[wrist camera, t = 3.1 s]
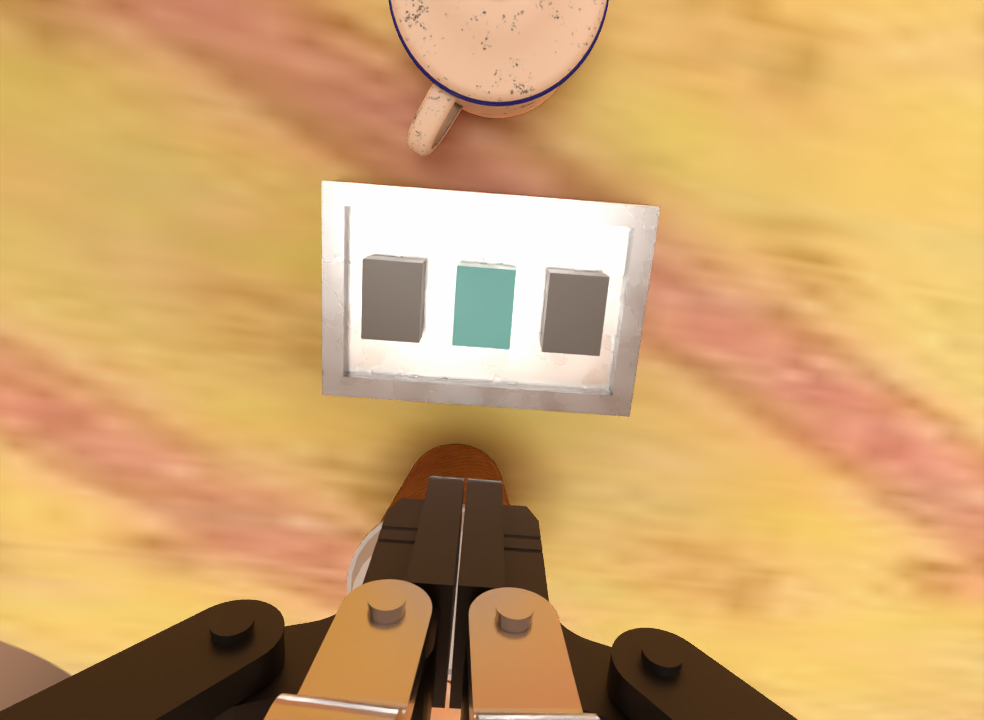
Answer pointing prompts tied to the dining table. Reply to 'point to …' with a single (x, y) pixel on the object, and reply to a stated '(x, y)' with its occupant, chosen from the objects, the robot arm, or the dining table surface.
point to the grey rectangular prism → (392, 298)
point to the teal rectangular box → (483, 305)
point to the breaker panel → (443, 243)
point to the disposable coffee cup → (433, 463)
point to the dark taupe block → (574, 312)
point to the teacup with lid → (491, 55)
